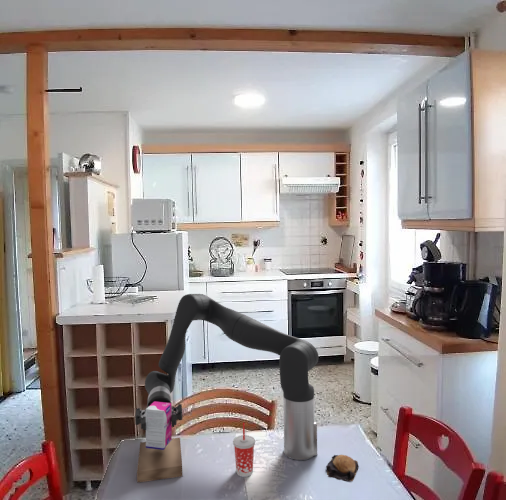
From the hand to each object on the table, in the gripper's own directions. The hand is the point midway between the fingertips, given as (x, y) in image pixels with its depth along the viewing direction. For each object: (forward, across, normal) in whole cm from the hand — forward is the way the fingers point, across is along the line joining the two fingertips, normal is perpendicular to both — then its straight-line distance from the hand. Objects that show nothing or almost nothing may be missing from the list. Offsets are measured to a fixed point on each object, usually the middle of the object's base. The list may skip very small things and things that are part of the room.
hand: (158, 425), depth 118 cm
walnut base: (-2, 0, +12) cm, 12 cm away
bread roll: (+13, +50, +12) cm, 53 cm away
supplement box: (-2, 0, +7) cm, 7 cm away
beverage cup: (+8, +23, +12) cm, 27 cm away
